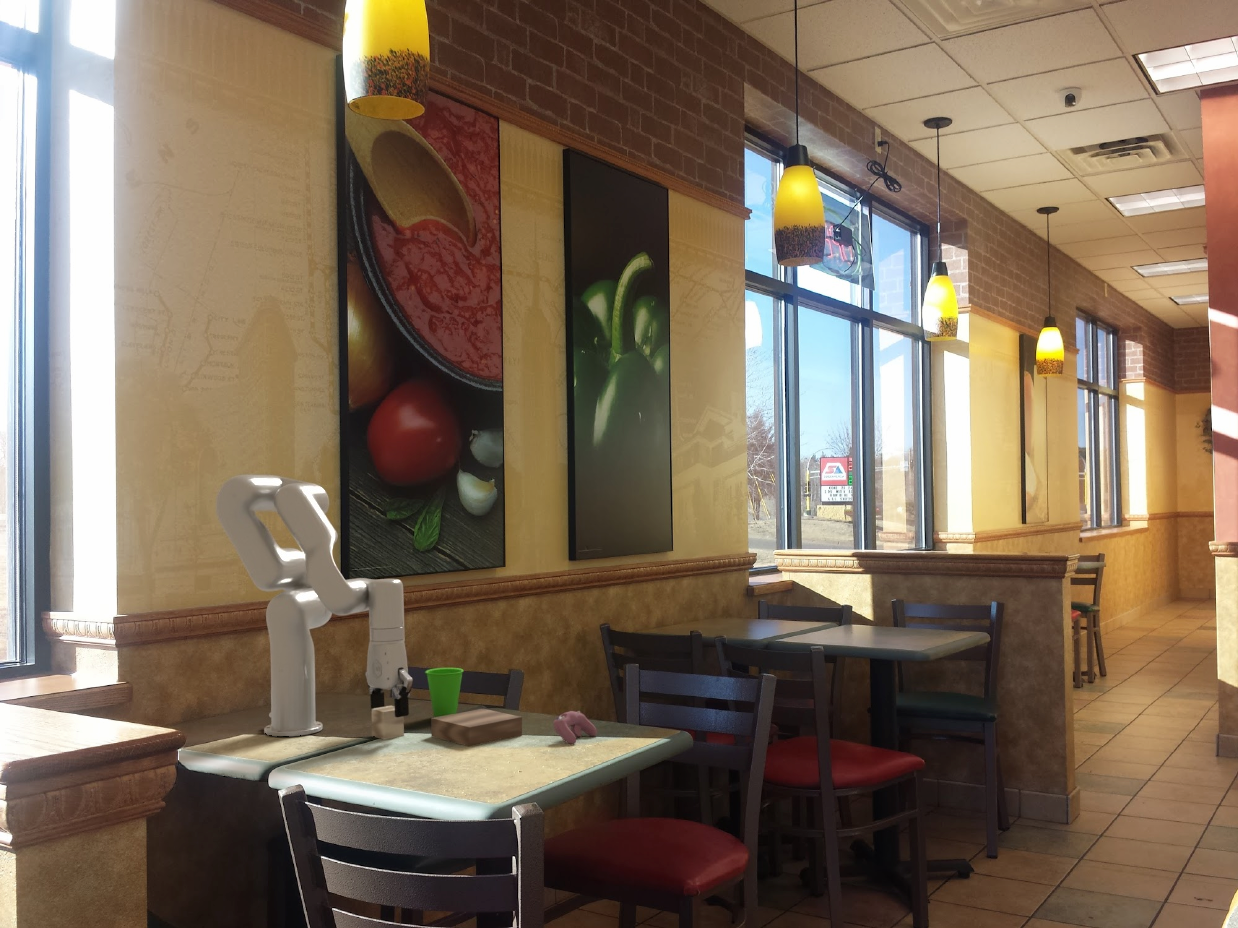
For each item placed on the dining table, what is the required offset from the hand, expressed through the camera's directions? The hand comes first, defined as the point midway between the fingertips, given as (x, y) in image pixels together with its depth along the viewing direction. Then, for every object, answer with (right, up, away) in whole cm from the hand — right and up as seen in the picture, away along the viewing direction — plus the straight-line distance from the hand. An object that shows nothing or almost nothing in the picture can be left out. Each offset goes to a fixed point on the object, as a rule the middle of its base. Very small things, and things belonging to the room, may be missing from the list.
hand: (389, 713), depth 242 cm
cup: (+9, -5, +19) cm, 22 cm away
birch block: (0, -5, 0) cm, 5 cm away
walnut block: (+19, -5, -2) cm, 20 cm away
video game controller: (+41, -4, -6) cm, 42 cm away
